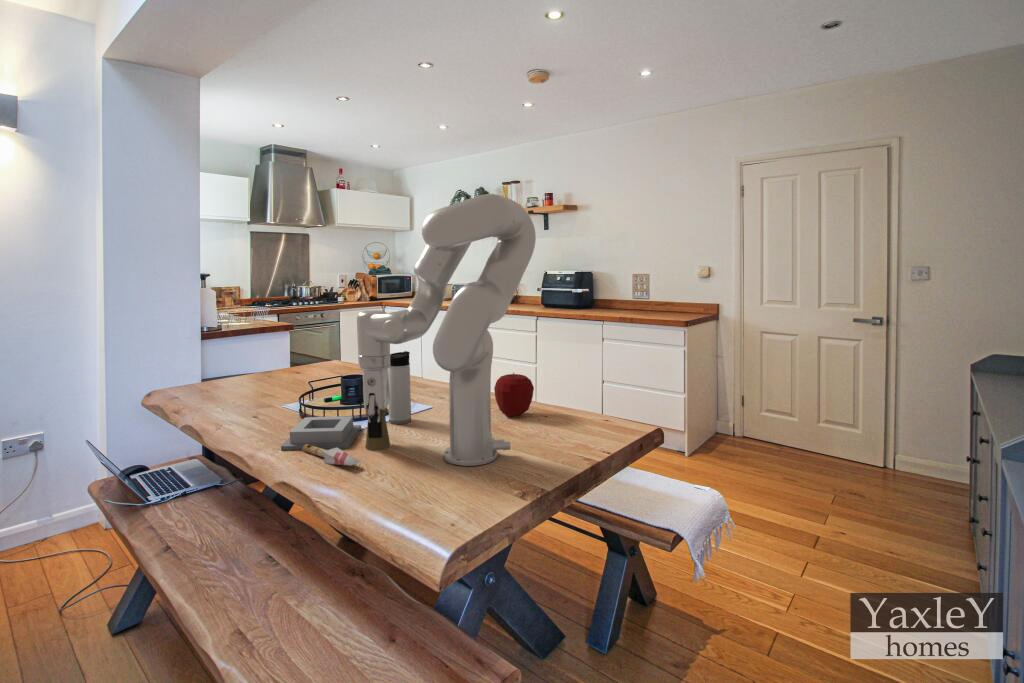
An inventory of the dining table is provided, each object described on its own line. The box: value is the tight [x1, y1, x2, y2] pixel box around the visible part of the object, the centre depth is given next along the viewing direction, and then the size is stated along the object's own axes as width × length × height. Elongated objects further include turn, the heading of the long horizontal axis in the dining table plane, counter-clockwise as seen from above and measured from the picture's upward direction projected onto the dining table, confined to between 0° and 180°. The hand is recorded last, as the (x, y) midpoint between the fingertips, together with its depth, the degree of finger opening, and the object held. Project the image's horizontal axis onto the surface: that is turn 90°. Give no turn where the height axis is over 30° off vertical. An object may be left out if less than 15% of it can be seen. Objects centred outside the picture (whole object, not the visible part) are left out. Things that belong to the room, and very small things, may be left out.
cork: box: [364, 406, 391, 452], centre depth 132 cm, size 6×6×11 cm
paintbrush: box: [302, 444, 361, 466], centre depth 124 cm, size 4×3×20 cm
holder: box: [280, 416, 362, 451], centre depth 138 cm, size 16×16×4 cm
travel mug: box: [388, 350, 412, 425], centre depth 152 cm, size 6×7×20 cm
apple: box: [493, 372, 535, 419], centre depth 158 cm, size 12×12×13 cm
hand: (377, 433), depth 132 cm, fingers open, 4 cm apart
